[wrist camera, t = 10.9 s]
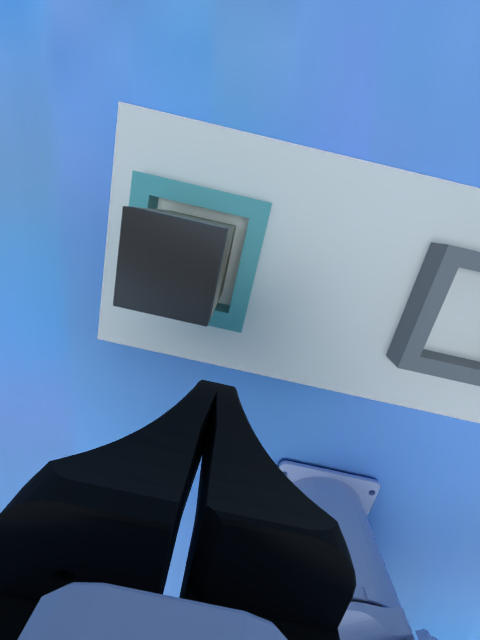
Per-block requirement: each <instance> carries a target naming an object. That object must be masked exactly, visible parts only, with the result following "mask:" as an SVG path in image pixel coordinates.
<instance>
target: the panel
mask: <svg viewBox="0 0 480 640" xmlns="http://www.w3.org/2000/svg"><path fill="white" fill-rule="evenodd" d="M123 206H129V207H140V208H150V209H161V210H170V211H175V212H179V213H183V214H187V215H192V216H196V217H200V218H205V219H209V220H213V221H218V222H222V223H226V224H231V225H235V226H236V230H235V234H234V239H233V244H232V249H231V254H230V258H229V263H228V268H227V273H226V277H225V282H224V287H223V291H222V294H221V296H220V298H219V300H218V303H217V305H216V307H215V310H214V312H213V314H212V317H211V319H210V321H209V323H208V326H207V327H206V326H201V325H197V324H192V323H188V322H183V321H179V320H174V319H170V318H165V317H161V316H156V315H152V314H147V313H143V312H138V311H134V310H130V309H125V308H121V307H116V306H113V298H114V288H115V279H116V269H117V259H118V249H119V239H120V229H121V219H122V209H123ZM98 339H100V340H104V341H109V342H114V343H118V344H123V345H127V346H132V347H136V348H141V349H145V350H150V351H154V352H159V353H163V354H168V355H172V356H177V357H182V358H186V359H191V360H195V361H200V362H204V363H209V364H213V365H218V366H222V367H227V368H231V369H236V370H240V371H245V372H250V373H254V374H259V375H263V376H268V377H272V378H277V379H281V380H286V381H290V382H295V383H299V384H304V385H308V386H313V387H317V388H322V389H327V390H331V391H336V392H340V393H345V394H349V395H354V396H358V397H363V398H367V399H372V400H376V401H381V402H385V403H390V404H395V405H399V406H404V407H408V408H413V409H417V410H422V411H426V412H431V413H435V414H440V415H444V416H449V417H453V418H458V419H463V420H467V421H472V422H476V423H480V188H477V187H473V186H468V185H464V184H460V183H456V182H452V181H448V180H443V179H439V178H435V177H431V176H427V175H423V174H419V173H414V172H410V171H406V170H402V169H398V168H394V167H389V166H385V165H381V164H377V163H373V162H369V161H365V160H360V159H356V158H352V157H348V156H344V155H340V154H335V153H331V152H327V151H323V150H319V149H315V148H310V147H306V146H302V145H298V144H294V143H290V142H286V141H281V140H277V139H273V138H269V137H265V136H261V135H256V134H252V133H248V132H244V131H240V130H236V129H232V128H227V127H223V126H219V125H215V124H211V123H207V122H202V121H198V120H194V119H190V118H186V117H182V116H178V115H173V114H169V113H165V112H161V111H157V110H153V109H148V108H144V107H140V106H136V105H132V104H128V103H124V102H119V105H118V116H117V127H116V138H115V149H114V160H113V172H112V183H111V194H110V205H109V216H108V227H107V239H106V250H105V261H104V272H103V283H102V294H101V306H100V317H99V328H98Z"/></svg>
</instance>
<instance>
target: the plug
mask: <svg viewBox="0 0 480 640" xmlns="http://www.w3.org/2000/svg"><path fill="white" fill-rule="evenodd" d="M235 230H236V226H235V225H231V224H226V223H222V222H218V221H213V220H209V219H205V218H200V217H196V216H192V215H187V214H183V213H179V212H175V211H170V210H161V209H150V208H140V207H129V206H123V209H122V219H121V229H120V239H119V249H118V259H117V269H116V279H115V288H114V298H113V306H116V307H121V308H125V309H130V310H134V311H138V312H143V313H147V314H152V315H156V316H161V317H165V318H170V319H174V320H179V321H183V322H188V323H192V324H197V325H201V326H206V327H207V326H208V323H209V321H210V319H211V317H212V314H213V312H214V310H215V307H216V305H217V303H218V300H219V298H220V296H221V294H222V291H223V287H224V282H225V277H226V273H227V268H228V263H229V258H230V254H231V249H232V244H233V239H234V234H235Z"/></svg>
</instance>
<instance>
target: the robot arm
mask: <svg viewBox="0 0 480 640" xmlns="http://www.w3.org/2000/svg"><path fill="white" fill-rule="evenodd" d="M201 457H202V463H201V471H200V480H199V489H198V498H197V507H196V515H195V522H194V528H193V533H192V538H191V543H190V548H189V552H188V557H187V562H186V567H185V572H184V577H183V582H182V587H181V592H180V597H179V598H177V597H172V596H167V595H163V592H164V587H165V583H166V579H167V575H168V571H169V567H170V562H171V558H172V554H173V550H174V546H175V542H176V537H177V533H178V529H179V525H180V521H181V518H182V514H183V511H184V508H185V505H186V502H187V499H188V496H189V493H190V490H191V487H192V484H193V481H194V478H195V475H196V472H197V469H198V466H199V463H200V460H201ZM283 471H285V472H286V473H283ZM370 490H372V491H370ZM379 490H380V484H379V482H378V481H377V480H375V479H371V478H366V477H361V476H357V475H352V474H347V473H343V472H338V471H333V470H329V469H324V468H319V467H314V466H310V465H305V464H300V463H296V462H291V461H285V460H284V461H282V462H280V463H279V466H277V465H276V464H275V463H274V461H273V460H272V459H271V458H270V456H269V455H268V454H267V452H266V451H265V449H264V448H263V446H262V445H261V443H260V442H259V440H258V438H257V437H256V435H255V433H254V431H253V430H252V428H251V426H250V424H249V422H248V419H247V417H246V415H245V413H244V411H243V408H242V406H241V403H240V400H239V397H238V394H237V390H236V388H235V387H233V386H228V385H224V384H219V383H215V382H210V381H205V380H201V381H199V382H198V383H197V385H196V386H195V387H194V388H193V389H192V390H191V391H190V392H189V393H188V394H187V395H186V396H185V397H184V398H183V399H182V400H181V401H180V402H178V403H177V404H176V405H175V406H174V407H172V408H171V409H170V410H169V411H167V412H166V413H165V414H163V415H162V416H161V417H159V418H158V419H156V420H155V421H153V422H152V423H150V424H148V425H147V426H145V427H143V428H142V429H140V430H138V431H136V432H134V433H132V434H130V435H128V436H126V437H124V438H122V439H119V440H117V441H114V442H112V443H109V444H107V445H104V446H101V447H98V448H96V449H93V450H90V451H86V452H83V453H79V454H76V455H72V456H68V457H64V458H61V459H57V460H53V461H49V462H48V463H47V464H46V465H45V466H44V467H43V468H42V469H41V470H40V471H39V472H38V473H37V474H36V475H35V476H33V477H32V478H31V480H30V481H29V482H28V483H27V484H26V485H25V486H24V487H23V488H22V489H21V490H20V491H19V492H18V494H17V495H16V496H15V497H14V498H13V499H12V501H11V502H10V503H9V504H8V505H7V506H6V508H5V509H4V510H3V511H2V512H1V513H0V640H415V638H414V636H413V633H412V630H411V628H410V625H409V623H408V620H407V618H406V615H405V613H404V610H403V608H402V607H401V605H400V603H399V600H398V597H397V595H396V592H395V589H394V587H393V584H392V582H391V579H390V576H389V574H388V571H387V568H386V566H385V563H384V560H383V558H382V555H381V552H380V550H379V547H378V544H377V542H376V539H375V537H374V534H373V531H372V529H371V526H370V523H369V521H368V518H367V516H368V514H369V512H370V510H371V507H372V505H373V503H374V501H375V499H376V496H377V494H378V492H379ZM415 632H416V634H417V637H418V640H438V639H436V638H435V637H433V636H431V635H430V633H429V632H428V631H427V630H426V629H422V630H418V631H415Z"/></svg>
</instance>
